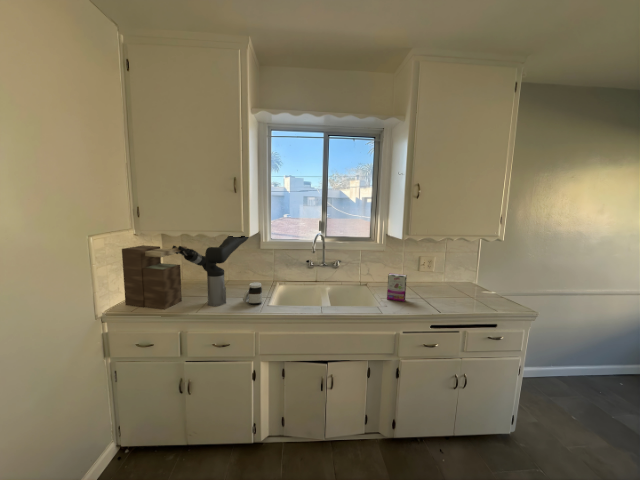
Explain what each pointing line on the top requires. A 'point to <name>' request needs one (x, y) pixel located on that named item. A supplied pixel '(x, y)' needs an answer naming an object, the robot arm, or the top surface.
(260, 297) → the spread jar
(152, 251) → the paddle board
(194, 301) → the top surface
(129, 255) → the two-tone wooden block
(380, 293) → the top surface
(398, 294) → the candy bar box
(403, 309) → the top surface
